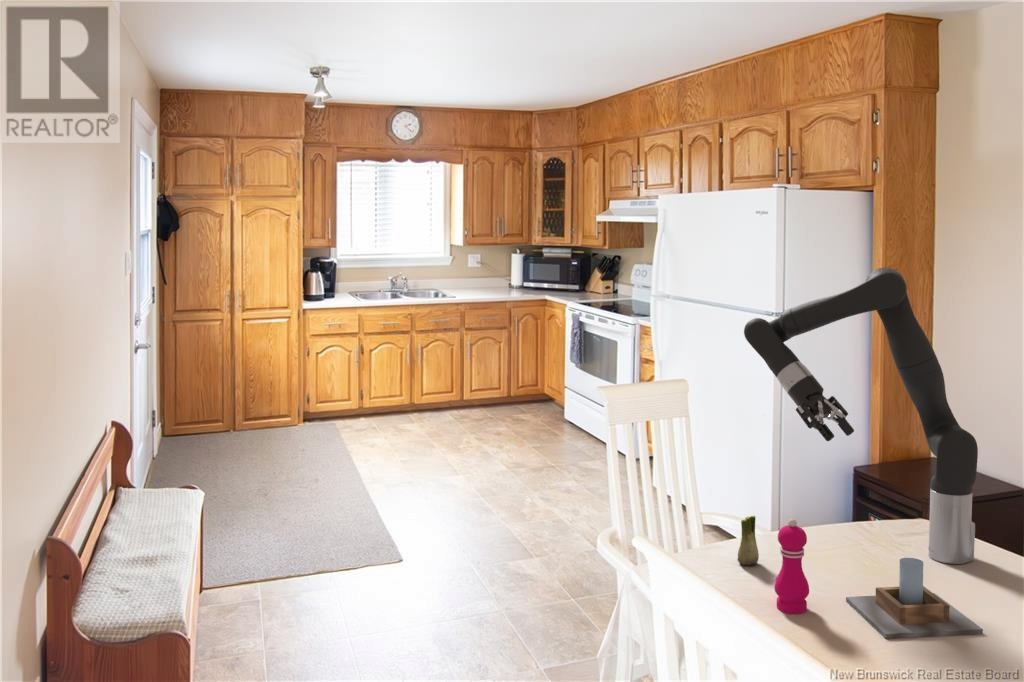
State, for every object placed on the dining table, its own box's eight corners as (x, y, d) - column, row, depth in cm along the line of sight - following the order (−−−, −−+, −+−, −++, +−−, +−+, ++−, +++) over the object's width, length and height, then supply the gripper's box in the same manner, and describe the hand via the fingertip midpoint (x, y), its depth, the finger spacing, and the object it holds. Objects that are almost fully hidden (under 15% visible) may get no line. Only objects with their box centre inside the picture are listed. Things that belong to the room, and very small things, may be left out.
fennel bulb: (752, 559, 214) (752, 512, 213) (764, 565, 209) (764, 518, 208) (732, 562, 212) (732, 515, 211) (744, 569, 208) (744, 521, 206)
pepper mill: (811, 616, 181) (812, 525, 179) (776, 614, 182) (776, 523, 180) (806, 602, 188) (807, 514, 186) (772, 600, 189) (773, 513, 187)
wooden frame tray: (934, 597, 188) (934, 577, 188) (982, 633, 171) (983, 612, 170) (846, 601, 188) (846, 581, 187) (885, 638, 170) (885, 617, 169)
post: (916, 607, 181) (916, 557, 180) (926, 615, 177) (927, 564, 176) (895, 607, 181) (895, 557, 180) (905, 616, 177) (905, 565, 176)
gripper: (792, 377, 204) (835, 431, 196) (825, 371, 213) (868, 422, 205) (773, 396, 209) (814, 450, 201) (806, 389, 217) (847, 440, 210)
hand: (841, 436), depth 203 cm, fingers open, 8 cm apart
